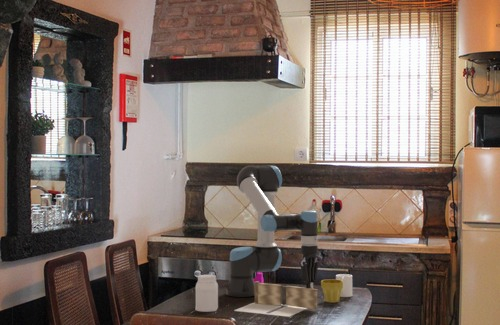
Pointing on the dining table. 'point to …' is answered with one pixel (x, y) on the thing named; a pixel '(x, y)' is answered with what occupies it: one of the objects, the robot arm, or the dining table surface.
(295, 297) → the wooden board
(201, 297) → the jar
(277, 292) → the fixed fence section
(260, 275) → the toy block
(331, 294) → the plant pot
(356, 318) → the dining table surface
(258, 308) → the card
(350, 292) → the cup
